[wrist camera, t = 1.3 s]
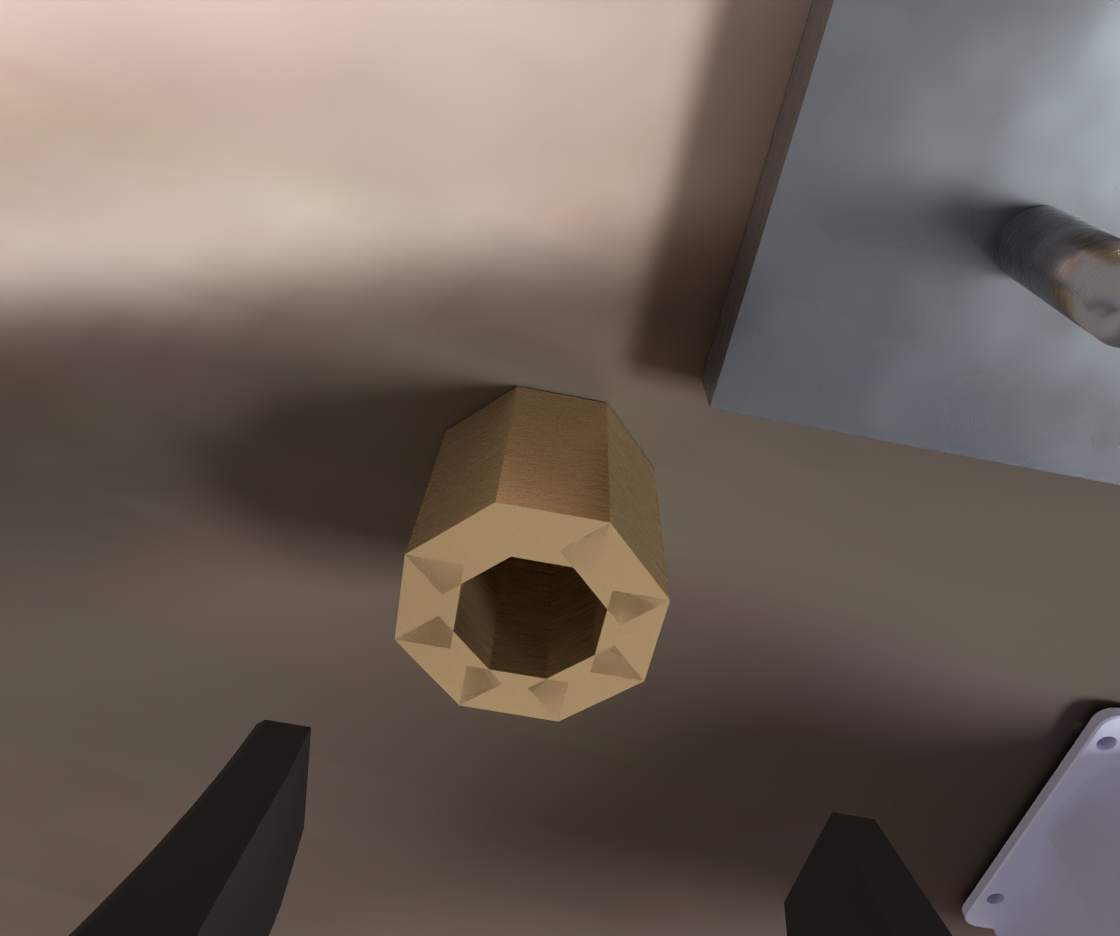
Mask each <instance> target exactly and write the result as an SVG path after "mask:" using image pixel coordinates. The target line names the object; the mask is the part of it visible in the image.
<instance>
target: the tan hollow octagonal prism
mask: <svg viewBox="0 0 1120 936" xmlns="http://www.w3.org/2000/svg"><path fill="white" fill-rule="evenodd" d="M669 602H670V596H669V587H668V579H667V571H666V563H665V555H664V547H663V539H662V530H661V522H660V514H659V506H658V498H657V490H656V481H655V473H654V468H653V467H652V465H651V464H650V463H649V461H648V460H647V458H646V457H645V456H644V454H643V453H642V451H641V450H640V449H639V447H638V446H637V444H636V443H635V442H634V440H633V439H632V438H631V436H630V435H629V433H628V432H627V431H626V429H625V428H624V426H623V425H622V424H621V422H620V421H619V419H618V418H617V417H616V415H615V414H614V412H613V411H612V410H611V408H610V407H609V405H608V404H607V403H604V402H599V401H594V400H588V399H583V398H578V397H572V396H567V395H562V394H556V393H551V392H546V391H540V390H535V389H529V388H524V387H519V386H517V387H515V388H514V389H512V390H511V391H509V392H507V393H506V394H504V395H503V396H501V397H499V398H498V399H496V400H495V401H493V402H491V403H490V404H488V405H487V406H485V407H483V408H482V409H480V410H479V411H477V412H475V413H474V414H472V415H471V416H469V417H467V418H466V419H464V420H463V421H461V422H459V423H458V424H456V425H455V426H453V427H451V428H450V429H448V430H447V431H446V432H445V435H444V438H443V441H442V444H441V447H440V450H439V453H438V456H437V459H436V462H435V465H434V468H433V471H432V474H431V477H430V480H429V483H428V486H427V489H426V492H425V495H424V498H423V501H422V504H421V507H420V511H419V514H418V517H417V520H416V523H415V526H414V529H413V532H412V535H411V538H410V541H409V544H408V547H407V550H406V553H405V558H404V567H403V575H402V583H401V591H400V600H399V608H398V616H397V625H396V633H395V640H396V641H397V642H398V643H399V644H400V645H401V646H402V648H403V649H404V650H405V651H406V652H407V653H408V654H409V655H410V656H411V657H412V658H413V659H414V660H415V661H416V662H417V663H418V664H419V665H420V666H421V667H422V668H423V669H424V670H425V671H426V672H427V673H428V674H429V675H430V676H431V677H432V678H433V679H434V680H435V681H436V682H437V683H438V684H439V685H440V686H441V687H442V688H443V689H444V690H445V691H446V692H447V693H448V694H449V695H450V696H451V697H452V698H453V700H454V701H455V702H456V703H457V704H458V705H460V706H466V707H472V708H479V709H485V710H491V711H497V712H503V713H509V714H515V715H522V716H528V717H534V718H540V719H546V720H552V721H558V722H559V721H561V720H563V719H565V718H567V717H569V716H571V715H573V714H576V713H578V712H580V711H582V710H584V709H586V708H588V707H590V706H593V705H595V704H597V703H599V702H601V701H603V700H605V699H607V698H610V697H612V696H614V695H616V694H618V693H620V692H622V691H625V690H627V689H629V688H631V687H633V686H635V685H637V684H639V683H642V682H644V681H645V677H646V674H647V671H648V668H649V665H650V662H651V659H652V655H653V652H654V649H655V646H656V643H657V640H658V637H659V633H660V630H661V627H662V624H663V621H664V618H665V615H666V612H667V608H668V605H669Z"/></svg>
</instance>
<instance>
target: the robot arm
mask: <svg viewBox="0 0 1120 936" xmlns="http://www.w3.org/2000/svg"><path fill="white" fill-rule="evenodd" d="M310 735H311V727H306V726H300V725H294V724H288V723H282V722H276V721H269V720H264V721H262V722H260V723H258V724H256V726H255V727H254V729H253V730H252V731H251V733H250V734H249V736H248V737H247V738H246V740H245V741H244V742H243V744H242V745H241V746H240V748H239V749H238V750H237V752H236V753H235V754H234V756H233V757H232V758H231V760H230V761H229V762H228V763H227V765H226V766H225V767H224V768H223V770H222V771H221V772H220V773H219V775H218V776H217V777H216V778H215V779H214V781H213V782H212V783H211V784H210V785H209V787H208V788H207V789H206V790H205V791H204V793H203V794H202V795H201V796H200V797H199V799H198V800H197V801H196V802H195V803H194V805H193V806H192V807H191V808H190V809H189V810H188V811H187V813H186V814H185V815H184V816H183V817H182V818H181V819H180V820H179V821H178V823H177V824H176V825H175V826H174V827H173V828H172V829H171V830H170V831H169V833H168V834H167V835H166V836H165V837H164V838H163V839H162V840H161V842H160V843H159V844H158V845H157V846H156V847H155V848H154V849H153V850H152V852H151V853H150V854H149V855H148V856H147V857H146V858H145V859H144V860H143V861H142V862H141V863H140V864H139V866H138V867H137V868H136V869H135V870H134V871H133V872H132V873H131V874H130V875H129V876H128V877H127V878H126V879H125V880H124V881H123V882H122V883H121V884H120V885H119V886H118V887H117V888H116V889H115V890H114V891H113V892H112V893H111V894H110V895H109V896H108V897H107V898H106V899H105V900H104V901H103V902H102V903H101V904H100V905H99V906H98V907H97V908H96V909H95V910H94V911H93V912H92V913H91V914H90V915H89V916H88V917H87V918H86V919H85V920H84V921H83V922H82V923H81V924H80V925H79V926H78V927H77V928H76V929H75V930H74V931H73V932H72V933H71V934H70V935H69V936H269V934H270V931H271V929H272V926H273V924H274V921H275V919H276V916H277V914H278V911H279V909H280V906H281V903H282V900H283V896H284V893H285V890H286V886H287V883H288V880H289V876H290V873H291V870H292V866H293V863H294V859H295V856H296V853H297V849H298V846H299V842H300V839H301V835H302V832H303V829H304V818H305V804H306V790H307V776H308V762H309V748H310ZM784 904H785V916H786V928H787V936H952V935H951V933H950V932H949V930H948V929H947V927H946V926H945V924H944V923H943V921H942V920H941V918H940V917H939V915H938V914H937V912H936V911H935V909H934V908H933V907H932V905H931V904H930V902H929V901H928V899H927V898H926V896H925V895H924V893H923V892H922V890H921V889H920V887H919V886H918V884H917V883H916V881H915V880H914V878H913V877H912V875H911V874H910V872H909V871H908V869H907V868H906V866H905V864H904V863H903V861H902V860H901V858H900V857H899V855H898V854H897V852H896V851H895V849H894V848H893V846H892V845H891V843H890V842H889V840H888V839H887V837H886V836H885V834H884V833H883V832H882V830H881V829H880V827H879V826H878V824H877V823H876V821H875V820H874V819H869V818H862V817H856V816H850V815H844V814H838V813H831V815H830V817H829V819H828V821H827V823H826V825H825V827H824V828H823V830H822V832H821V834H820V836H819V838H818V840H817V842H816V844H815V845H814V847H813V849H812V851H811V853H810V855H809V857H808V859H807V861H806V862H805V864H804V866H803V868H802V870H801V872H800V874H799V876H798V877H797V879H796V881H795V883H794V885H793V887H792V889H791V891H790V893H789V894H788V896H787V898H786V900H785V902H784ZM962 912H963V914H964V917H965V919H966V922H968V923H969V924H971V925H974V926H978V927H984V928H991V929H993V930H994V932H995V934H996V936H1120V708H1106V709H1103V710H1101V711H1099V712H1097V713H1096V714H1095V715H1094V716H1093V717H1092V718H1091V720H1090V721H1089V723H1088V724H1087V726H1086V727H1085V728H1084V730H1083V731H1082V733H1081V734H1080V736H1079V737H1078V739H1077V740H1076V742H1075V743H1074V744H1073V746H1072V747H1071V749H1070V750H1069V752H1068V753H1067V755H1066V756H1065V758H1064V759H1063V760H1062V762H1061V763H1060V765H1059V766H1058V768H1057V769H1056V771H1055V772H1054V774H1053V775H1052V777H1051V778H1050V779H1049V781H1048V782H1047V784H1046V785H1045V787H1044V788H1043V790H1042V791H1041V793H1040V794H1039V795H1038V797H1037V798H1036V800H1035V801H1034V803H1033V804H1032V806H1031V807H1030V809H1029V810H1028V811H1027V813H1026V814H1025V816H1024V817H1023V819H1022V820H1021V822H1020V823H1019V825H1018V826H1017V827H1016V829H1015V830H1014V832H1013V833H1012V835H1011V836H1010V838H1009V839H1008V841H1007V842H1006V843H1005V845H1004V846H1003V848H1002V849H1001V851H1000V852H999V854H998V855H997V857H996V858H995V859H994V861H993V862H992V864H991V865H990V867H989V868H988V870H987V871H986V873H985V874H984V876H983V877H982V878H981V880H980V881H979V883H978V884H977V886H976V887H975V889H974V890H973V892H972V893H971V894H970V896H969V897H968V899H967V900H966V902H965V903H964V905H963V907H962Z"/></svg>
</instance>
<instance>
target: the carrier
mask: <svg viewBox="0 0 1120 936" xmlns="http://www.w3.org/2000/svg"><path fill="white" fill-rule="evenodd" d="M702 381H703V385H704V389H705V393H706V396H707V400H708V404H709V407H710V408H712V409H717V410H722V411H728V412H733V413H738V414H744V415H749V416H754V417H760V418H765V419H770V420H776V421H781V422H786V423H792V424H797V425H802V426H808V427H813V428H818V429H824V430H829V431H834V432H840V433H845V434H850V435H856V436H861V437H866V438H872V439H877V440H882V441H888V442H893V443H898V444H904V445H909V446H914V447H920V448H925V449H930V450H936V451H941V452H946V453H952V454H957V455H962V456H968V457H973V458H978V459H983V460H989V461H994V462H999V463H1005V464H1010V465H1015V466H1021V467H1026V468H1031V469H1037V470H1042V471H1047V472H1053V473H1058V474H1063V475H1069V476H1074V477H1079V478H1085V479H1090V480H1095V481H1101V482H1106V483H1111V484H1117V485H1120V0H813V4H812V7H811V10H810V14H809V17H808V21H807V24H806V27H805V31H804V34H803V38H802V41H801V44H800V48H799V51H798V55H797V58H796V61H795V65H794V68H793V72H792V75H791V78H790V82H789V85H788V89H787V92H786V95H785V99H784V102H783V106H782V109H781V112H780V116H779V119H778V123H777V126H776V129H775V133H774V136H773V140H772V143H771V146H770V150H769V153H768V157H767V160H766V163H765V167H764V170H763V174H762V177H761V180H760V184H759V187H758V190H757V194H756V197H755V201H754V204H753V207H752V211H751V214H750V218H749V221H748V224H747V228H746V231H745V235H744V238H743V241H742V245H741V248H740V252H739V255H738V258H737V262H736V265H735V269H734V272H733V275H732V279H731V282H730V286H729V289H728V292H727V296H726V299H725V303H724V306H723V309H722V313H721V316H720V320H719V323H718V326H717V330H716V333H715V337H714V340H713V343H712V347H711V350H710V354H709V357H708V360H707V364H706V367H705V371H704V374H703V377H702Z"/></svg>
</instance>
